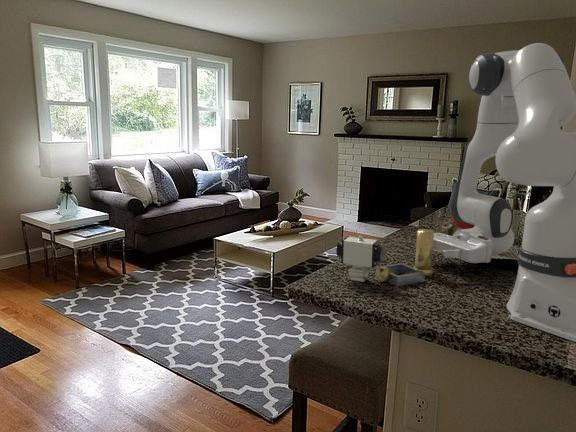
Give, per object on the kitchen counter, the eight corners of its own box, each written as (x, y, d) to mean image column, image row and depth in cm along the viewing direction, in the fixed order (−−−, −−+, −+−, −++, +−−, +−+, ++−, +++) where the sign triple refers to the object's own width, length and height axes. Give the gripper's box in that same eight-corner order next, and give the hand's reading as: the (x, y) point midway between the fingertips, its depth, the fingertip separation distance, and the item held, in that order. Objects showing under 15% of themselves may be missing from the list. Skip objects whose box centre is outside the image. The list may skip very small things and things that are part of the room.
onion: (455, 251, 145) (457, 227, 143) (438, 245, 152) (440, 222, 151) (473, 249, 148) (475, 225, 146) (455, 243, 155) (457, 220, 153)
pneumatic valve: (378, 286, 113) (380, 240, 111) (335, 279, 118) (336, 235, 116) (384, 279, 118) (386, 236, 115) (342, 273, 123) (343, 231, 121)
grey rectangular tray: (424, 281, 117) (425, 267, 116) (390, 287, 112) (391, 273, 111) (401, 271, 125) (402, 258, 124) (369, 277, 120) (369, 263, 119)
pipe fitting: (436, 274, 122) (439, 232, 120) (422, 277, 120) (425, 234, 118) (423, 268, 127) (426, 228, 124) (409, 271, 125) (411, 229, 122)
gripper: (441, 226, 137) (405, 230, 132) (497, 241, 119) (459, 247, 113) (439, 246, 139) (404, 251, 133) (494, 264, 121) (457, 271, 115)
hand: (430, 249), depth 123 cm, fingers open, 8 cm apart
